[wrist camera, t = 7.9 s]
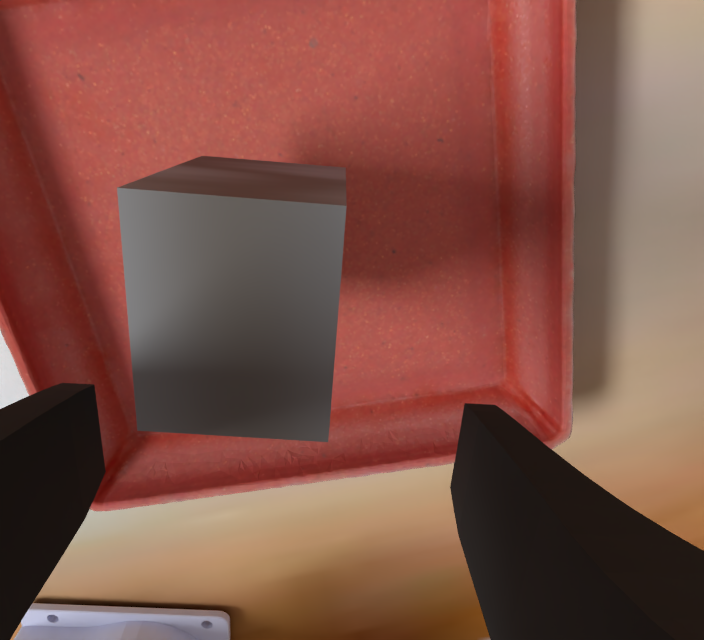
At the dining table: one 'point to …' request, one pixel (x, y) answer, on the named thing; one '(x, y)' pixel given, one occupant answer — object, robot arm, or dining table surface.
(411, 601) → the dining table surface
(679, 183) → the dining table surface
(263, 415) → the charcoal block
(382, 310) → the plant saucer
